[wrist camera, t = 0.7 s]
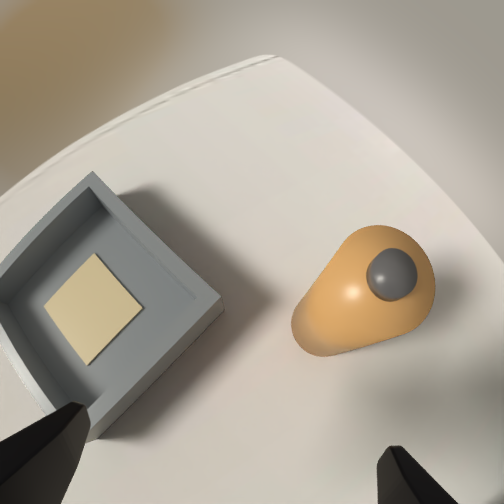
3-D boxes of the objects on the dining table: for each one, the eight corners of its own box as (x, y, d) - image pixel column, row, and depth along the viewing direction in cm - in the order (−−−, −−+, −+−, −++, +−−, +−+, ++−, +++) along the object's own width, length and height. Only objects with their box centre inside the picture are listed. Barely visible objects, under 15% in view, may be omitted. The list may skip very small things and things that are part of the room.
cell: (367, 319, 23) (459, 266, 12) (328, 370, 21) (408, 358, 11) (319, 279, 24) (379, 196, 13) (277, 327, 23) (313, 276, 12)
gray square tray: (224, 310, 23) (221, 296, 19) (96, 439, 19) (71, 447, 15) (108, 197, 26) (92, 170, 22) (3, 307, 22) (-25, 294, 18)
